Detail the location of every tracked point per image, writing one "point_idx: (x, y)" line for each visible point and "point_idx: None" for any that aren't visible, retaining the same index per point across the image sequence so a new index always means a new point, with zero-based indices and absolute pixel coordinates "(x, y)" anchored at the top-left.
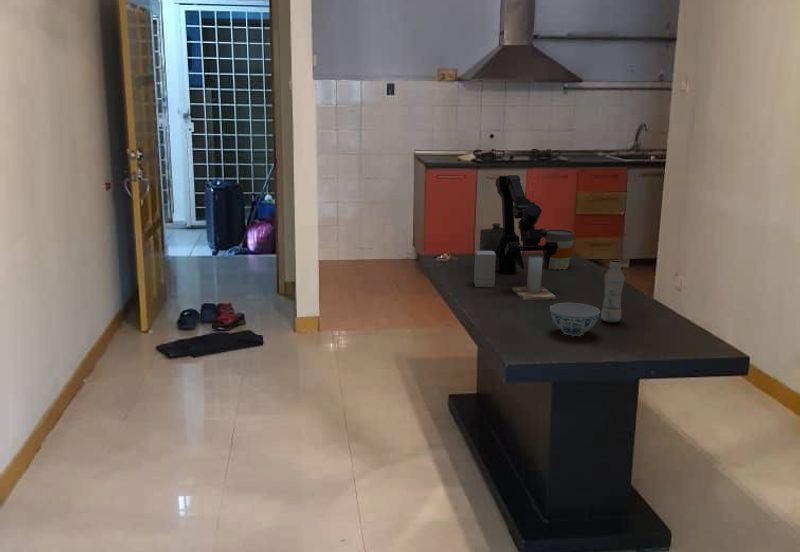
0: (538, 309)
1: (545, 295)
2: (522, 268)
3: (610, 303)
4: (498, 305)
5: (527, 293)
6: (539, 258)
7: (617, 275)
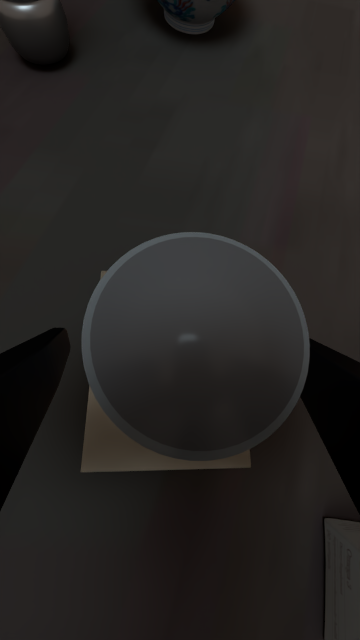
0: (213, 181)
1: None
2: None
3: None
4: (332, 238)
5: None
6: (173, 237)
7: None
